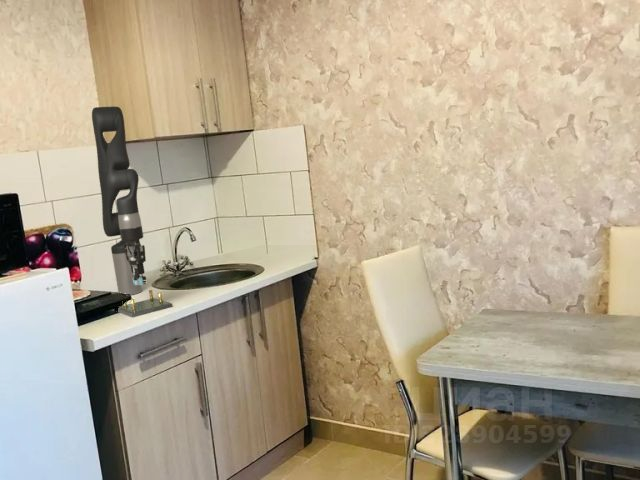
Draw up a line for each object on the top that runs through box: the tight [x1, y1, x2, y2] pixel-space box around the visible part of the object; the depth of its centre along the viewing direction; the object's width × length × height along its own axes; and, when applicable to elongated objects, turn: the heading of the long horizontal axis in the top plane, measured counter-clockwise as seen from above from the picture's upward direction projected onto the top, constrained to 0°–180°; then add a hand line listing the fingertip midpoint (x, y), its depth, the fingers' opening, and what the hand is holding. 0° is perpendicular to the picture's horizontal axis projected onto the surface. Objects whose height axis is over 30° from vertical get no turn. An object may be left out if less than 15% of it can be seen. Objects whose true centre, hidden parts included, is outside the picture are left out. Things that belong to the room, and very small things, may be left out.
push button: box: [128, 257, 149, 286], centre depth 231 cm, size 7×5×10 cm
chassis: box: [117, 289, 173, 318], centre depth 233 cm, size 16×15×5 cm
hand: (138, 273), depth 232 cm, fingers closed on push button, 5 cm apart
